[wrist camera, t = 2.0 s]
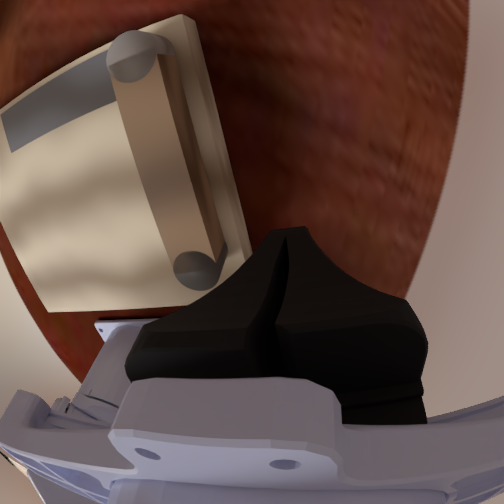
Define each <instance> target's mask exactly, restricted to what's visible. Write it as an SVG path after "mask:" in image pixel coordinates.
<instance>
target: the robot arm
mask: <svg viewBox="0 0 504 504" xmlns="http://www.w3.org/2000/svg"><path fill="white" fill-rule="evenodd" d="M94 325H95V327H96V329H97V330H98V332H99V334H100V335H101V337H102V338H103V340H104V341H105V344H104V345H103V347H102V349H101V351H100V352H99V354H98V356H97V358H96V359H95V361H94V363H93V365H92V367H91V369H90V370H89V372H88V374H87V376H86V378H85V380H84V381H83V383H82V385H81V387H80V389H79V391H78V392H77V393H76V395H75V397H74V398H73V401H72V402H71V404H70V403H69V402H70V399H69V398H67V397H65V396H64V397H63V398H58V399H56V400H55V402H54V404H53V405H52V407H51V408H50V407H49V406H48V404H47V403H46V402H45V401H44V400H43V399H42V398H41V397H39V396H38V395H36V394H33V393H30V392H26V391H23V390H17V392H16V394H15V395H14V397H13V399H12V400H11V402H10V404H9V405H8V407H7V409H6V411H5V412H4V414H3V416H2V418H1V419H0V447H1V448H3V449H4V450H5V451H6V452H8V453H9V454H10V455H11V456H13V457H14V458H15V459H16V460H18V461H19V462H20V463H22V464H23V465H24V466H26V467H27V468H28V470H27V475H28V477H29V479H30V481H31V482H32V484H33V486H34V488H35V489H36V491H37V493H38V494H39V496H40V498H41V499H42V500H43V502H44V504H479V503H481V502H483V501H486V500H488V499H490V498H493V497H495V496H497V495H499V494H501V493H503V492H504V396H502V397H499V398H496V399H493V400H490V401H487V402H484V403H481V404H478V405H475V406H471V407H468V408H464V409H461V410H457V411H454V412H450V413H446V414H442V415H438V416H434V417H430V418H427V417H426V412H425V408H424V404H423V401H422V396H423V393H424V389H423V386H422V382H421V376H422V372H423V368H424V364H425V361H426V357H427V353H428V341H427V338H426V335H425V332H424V329H423V327H422V325H421V323H420V321H419V319H418V318H417V316H416V314H415V313H414V311H413V309H412V308H411V306H410V305H409V303H408V302H407V301H406V300H405V299H401V298H398V297H395V296H392V295H389V294H386V293H383V292H380V291H378V290H376V289H373V288H371V287H369V286H367V285H365V284H363V283H361V282H359V281H357V280H356V279H354V278H352V277H351V276H349V275H348V274H346V273H345V272H344V271H342V270H341V269H340V268H339V267H338V266H336V265H335V264H334V263H333V262H332V261H331V260H330V259H329V258H328V257H327V256H326V255H325V254H324V253H323V251H322V250H321V249H320V248H319V247H318V245H317V244H316V243H315V241H314V240H313V238H312V237H311V235H310V233H309V231H308V228H306V227H305V226H301V227H294V228H286V229H279V230H272V231H270V233H269V234H268V235H267V236H266V238H265V239H264V240H263V241H262V243H261V244H260V245H259V246H258V248H257V249H256V250H255V251H254V252H253V254H252V255H251V256H250V257H249V258H248V259H247V260H246V261H245V262H244V263H243V264H242V265H241V266H240V267H239V269H238V270H236V271H235V272H234V273H233V274H232V275H231V276H230V277H229V278H227V279H226V280H225V281H224V282H223V283H221V284H220V285H219V286H217V287H216V288H214V289H213V290H211V291H210V292H208V293H207V294H206V295H204V296H203V297H201V298H200V299H198V300H196V301H194V302H193V303H191V304H189V305H187V306H185V307H183V308H182V309H180V310H178V311H176V312H173V313H171V314H169V315H167V316H164V317H162V318H156V319H132V320H98V321H96V322H95V324H94Z"/></svg>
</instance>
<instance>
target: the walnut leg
mask: <svg viewBox="0 0 504 504" xmlns="http://www.w3.org/2000/svg"><path fill="white" fill-rule="evenodd" d="M106 64H107V68H108V71H109V73H110V77H111V81H112V85H113V89H114V92H115V96H116V100H117V103H118V107H119V111H120V114H121V118H122V121H123V124H124V128H125V131H126V135H127V138H128V141H129V144H130V148H131V151H132V154H133V157H134V160H135V164H136V167H137V170H138V173H139V176H140V179H141V182H142V185H143V188H144V191H145V194H146V197H147V200H148V203H149V205H150V208H151V211H152V214H153V217H154V219H155V222H156V225H157V228H158V230H159V233H160V236H161V239H162V241H163V244H164V247H165V249H166V252H167V254H168V257H169V260H170V262H171V265H172V267H173V271H174V274H175V277H176V278H177V280H178V281H179V282H180V283H181V284H182V285H184V286H185V287H187V288H189V289H192V290H196V291H205V290H209V289H211V288H213V287H214V286H215V285H216V284H217V282H218V280H219V278H220V275H221V272H222V269H223V266H224V263H225V260H226V257H227V253H228V247H227V244H226V241H225V239H224V236H223V232H222V229H221V225H220V222H219V218H218V215H217V211H216V207H215V204H214V200H213V197H212V193H211V190H210V186H209V182H208V179H207V175H206V171H205V168H204V164H203V160H202V157H201V153H200V149H199V146H198V142H197V138H196V134H195V131H194V127H193V123H192V119H191V116H190V112H189V108H188V104H187V100H186V97H185V93H184V89H183V85H182V81H181V77H180V73H179V69H178V65H177V61H176V57H175V49H174V47H173V45H172V43H171V42H170V41H169V40H168V39H167V38H165V37H163V36H160V35H156V34H152V33H148V32H143V31H139V30H131V31H127V32H124V33H122V34H121V35H119V36H118V37H117V38H116V39H115V40H114V41H113V42H112V44H111V45H110V47H109V49H108V52H107V56H106Z"/></svg>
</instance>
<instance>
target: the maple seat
mask: <svg viewBox="0 0 504 504" xmlns="http://www.w3.org/2000/svg"><path fill="white" fill-rule="evenodd" d="M139 31H143V32H148V33H152V34H156V35H160V36H163V37H165V38H167V39H168V40H169V41H170V42H171V43H172V45H173V47H174V49H175V57H176V61H177V65H178V69H179V73H180V77H181V81H182V85H183V89H184V93H185V97H186V100H187V104H188V108H189V112H190V116H191V119H192V123H193V127H194V131H195V134H196V138H197V142H198V146H199V149H200V153H201V157H202V160H203V164H204V168H205V171H206V175H207V179H208V182H209V186H210V190H211V193H212V197H213V200H214V204H215V207H216V211H217V215H218V218H219V222H220V225H221V229H222V232H223V236H224V239H225V241H226V244H227V247H228V253H227V257H226V260H225V263H224V266H223V269H222V272H221V275H220V278H219V280H218V282H217V284H216V285H215V286H214V287H213V288H211V289H209V290H205V291H196V290H192V289H189V288H187V287H185V286H184V285H182V284H181V283H180V282H179V281H178V280H177V278H176V277H175V274H174V271H173V267H172V265H171V262H170V260H169V257H168V254H167V252H166V249H165V247H164V244H163V241H162V239H161V236H160V233H159V230H158V228H157V225H156V222H155V219H154V217H153V214H152V211H151V208H150V205H149V203H148V200H147V197H146V194H145V191H144V188H143V185H142V182H141V179H140V176H139V173H138V170H137V167H136V164H135V160H134V157H133V154H132V151H131V148H130V144H129V141H128V138H127V135H126V131H125V128H124V124H123V121H122V118H121V114H120V111H119V107H118V103H117V100H116V96H115V92H114V89H113V85H112V81H111V77H110V73H109V71H108V68H107V64H106V56H107V52H108V49H109V47H110V45H111V44H112V42H113V41H112V42H110V43H108V44H106V45H104V46H102V47H100V48H98V49H96V50H94V51H92V52H90V53H88V54H86V55H84V56H82V57H80V58H79V59H77V60H75V61H73V62H71V63H70V64H68V65H66V66H64V67H63V68H61V69H59V70H58V71H56V72H54V73H53V74H51V75H49V76H48V77H46V78H45V79H43V80H41V81H40V82H38V83H37V84H35V85H34V86H32V87H31V88H29V89H28V90H26V91H25V92H24V93H22V94H21V95H19V96H18V97H16V98H15V99H14V100H12V101H11V102H10V103H8V104H7V105H6V106H4V107H3V108H2V109H0V221H1V223H2V225H3V228H4V230H5V232H6V234H7V236H8V239H9V241H10V243H11V245H12V247H13V249H14V251H15V253H16V255H17V257H18V259H19V261H20V263H21V265H22V267H23V269H24V271H25V273H26V274H27V276H28V278H29V280H30V282H31V283H32V285H33V287H34V289H35V291H36V292H37V294H38V296H39V297H40V299H41V301H42V302H43V304H44V306H45V307H46V309H47V311H48V312H71V311H98V310H119V309H137V308H154V307H169V306H183V305H189V304H191V303H193V302H194V301H196V300H198V299H200V298H201V297H203V296H204V295H206V294H207V293H208V292H210V291H211V290H213V289H214V288H216V287H217V286H219V285H220V284H221V283H223V282H224V281H225V280H226V279H227V278H229V277H230V276H231V275H232V274H233V273H234V272H235V271H236V270H238V269H239V267H240V266H241V265H242V264H243V263H244V262H245V261H246V260H247V259H248V258H249V257H250V256H251V255H252V254H253V252H252V248H251V244H250V240H249V236H248V232H247V228H246V224H245V220H244V216H243V212H242V208H241V204H240V200H239V196H238V192H237V188H236V184H235V180H234V176H233V172H232V168H231V164H230V160H229V156H228V152H227V148H226V144H225V140H224V136H223V132H222V127H221V123H220V119H219V115H218V111H217V107H216V103H215V99H214V95H213V91H212V87H211V83H210V79H209V75H208V71H207V67H206V63H205V59H204V55H203V51H202V47H201V43H200V39H199V35H198V31H197V27H196V23H195V21H194V20H192V19H191V18H189V17H187V16H185V15H183V14H180V15H177V16H174V17H171V18H168V19H165V20H163V21H160V22H157V23H155V24H152V25H149V26H147V27H144V28H142V29H139Z"/></svg>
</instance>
